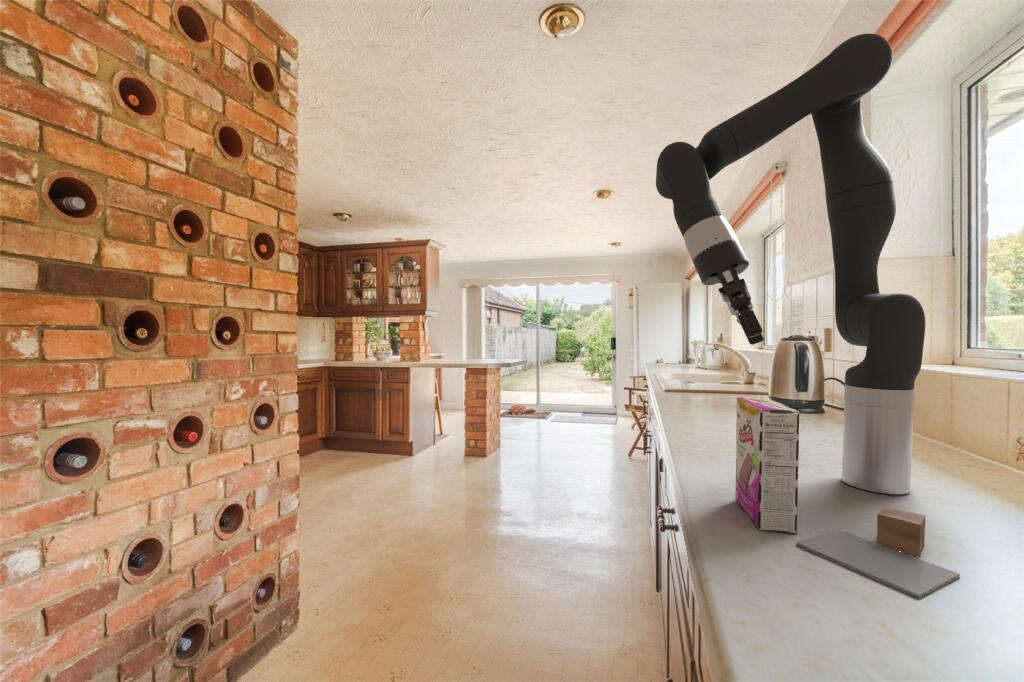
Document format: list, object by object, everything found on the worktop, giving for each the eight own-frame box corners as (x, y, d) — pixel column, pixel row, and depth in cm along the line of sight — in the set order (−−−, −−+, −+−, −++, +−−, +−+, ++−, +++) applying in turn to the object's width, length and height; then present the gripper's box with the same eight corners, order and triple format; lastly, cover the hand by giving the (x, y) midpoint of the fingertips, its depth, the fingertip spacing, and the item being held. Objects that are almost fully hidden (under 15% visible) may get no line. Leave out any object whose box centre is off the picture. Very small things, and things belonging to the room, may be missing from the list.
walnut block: (882, 535, 58) (883, 505, 58) (924, 547, 55) (925, 515, 55) (876, 545, 55) (877, 513, 55) (919, 558, 52) (920, 524, 52)
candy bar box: (732, 500, 70) (735, 396, 69) (767, 502, 69) (770, 397, 68) (756, 531, 59) (760, 408, 58) (798, 535, 58) (802, 410, 57)
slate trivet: (838, 531, 59) (838, 528, 59) (959, 577, 48) (959, 573, 48) (796, 545, 55) (796, 542, 55) (918, 598, 44) (918, 594, 44)
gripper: (734, 224, 66) (783, 322, 61) (740, 253, 78) (781, 336, 74) (685, 248, 69) (728, 342, 65) (698, 271, 82) (735, 353, 77)
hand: (756, 339), depth 69 cm, fingers open, 8 cm apart
